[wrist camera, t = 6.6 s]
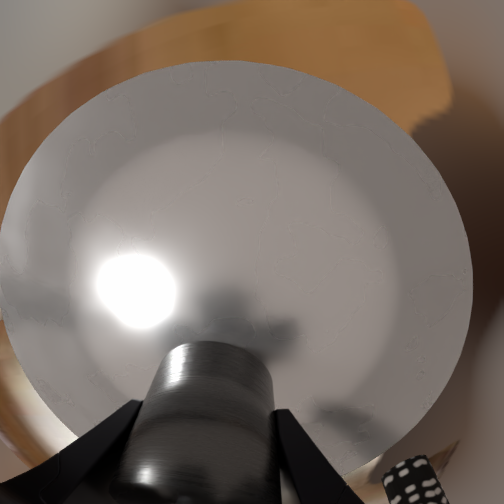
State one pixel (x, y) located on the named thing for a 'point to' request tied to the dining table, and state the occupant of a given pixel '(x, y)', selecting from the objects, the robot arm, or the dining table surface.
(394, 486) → the white-spotted black cylinder
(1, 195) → the dining table surface
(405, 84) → the dining table surface
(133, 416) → the robot arm
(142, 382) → the steel lid
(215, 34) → the dining table surface
